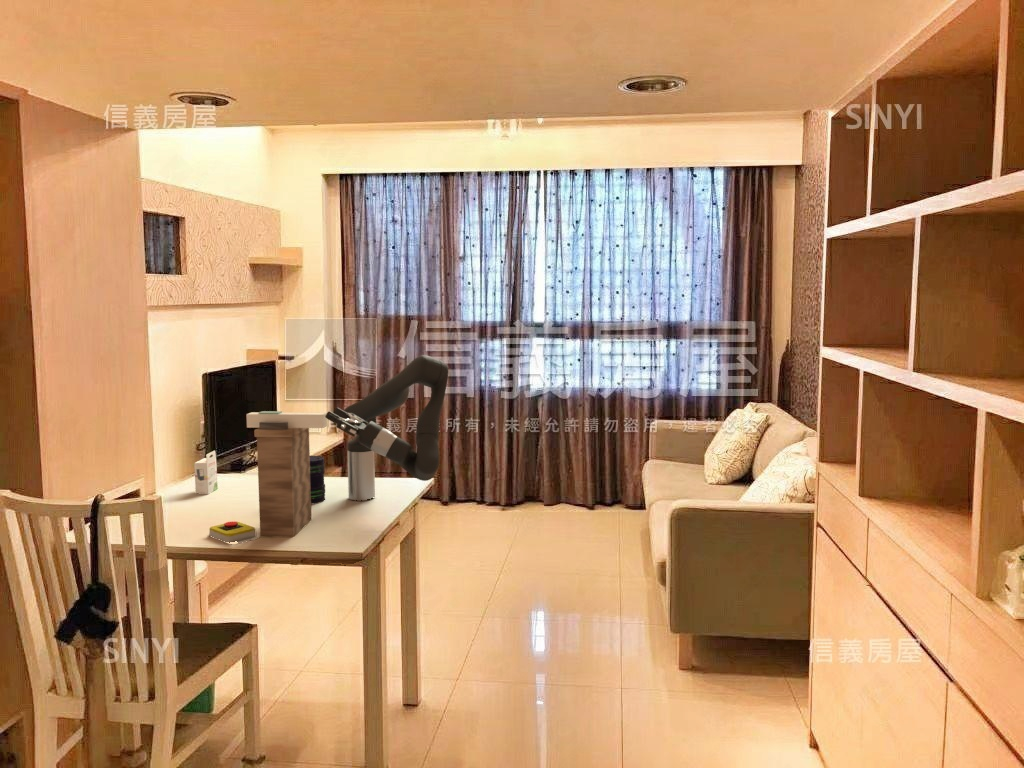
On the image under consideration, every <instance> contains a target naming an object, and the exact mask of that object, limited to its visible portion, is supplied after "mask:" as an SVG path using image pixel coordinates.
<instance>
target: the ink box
mask: <svg viewBox="0 0 1024 768" xmlns="http://www.w3.org/2000/svg"><path fill="white" fill-rule="evenodd" d="M205 456H206V457H205V458H204V457H203V458H201V459H200V460H198V461H195V462H194V463H193V467H194V468H193V469H194V486H195V488H194V489H195V494H196V493H199V494H198V495H210V494H211V493H213V492H215V491H216V489H217V490H218V489H219V488H218V470H217V468H218V467H217V466H218V465H217V455H216V450H213V451H211V452H209V453H207V454H206V455H205ZM214 490H215V491H214ZM209 493H210V494H209Z"/></svg>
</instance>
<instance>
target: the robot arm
mask: <svg viewBox="0 0 1024 768" xmlns="http://www.w3.org/2000/svg"><path fill="white" fill-rule="evenodd" d="M448 379H449V366H448V364H447V363H446V362H444V361H443V360H441V359H438V358H435V357H432V356H430V355H426V354H421V355H418V356H416V357H415V358H414V359H413V360H412V361H411V362H409V363H408V364H407V365H406V366H405V367H404V368H403V369H402V370H401V371H400V372H398V373H397V374H396V375H395V376H393V377H392V378H390V379H389V380H387V381H386V382H384V383H383V384H381V385H380V386H379V387H377V388H376V389H374V390H373V391H371V392H370V393H369V394H368V395H366V396H365V397H364V398H362V399H360V400H359V401H357V402H355V403H352V404H349V405H348V406H347V407H345V408H344V410H343V409H341V408H339V407H335V409H334V410H333V412H332V411H331V410H330V411H327V412H326V413H327V414H326V416H325V417H326V418H327V421H330V422H332V423H334V424H335V426H336V427H335V428H337V429H338V430H340V431H343V432H345V433H346V434H348V435H350V436H351V437H354V438H353V439H351V440H350V441H348V443H347V445H346V447H347V481H348V482H347V483H348V484H347V486H348V487H347V488H348V492H347V493H348V500H351V501H356V500H357V502H358V501H361V500H362V501H368V500H367V499H370V500H372V499H371V498H373V497H375V498H376V489H375V488H376V481H375V480H376V477H375V471H376V470H375V453H376V454H378V455H380V456H383V457H385V458H387V459H388V460H390V461H392V462H393V463H396V464H397V465H398V466H400V467H401V469H403V470H405V471H406V472H407V474H409V475H411V477H413V478H415V479H417V480H419V481H422V482H426V481H431V480H432V479H433V478H434V477H435V475H436V473H437V472H438V469H439V466H440V449H439V448H440V447H439V442H440V441H439V440H440V422H441V415H442V409H443V404H444V399H445V394H446V392H447V391H446V390H447V384H448ZM415 384H416V385H417V384H419V385H422V386H425V387H427V388H430V391H431V392H430V398H429V401H428V402H427V404H426V405H425V407H424V408H423V409H422V410H421V412H420V413H419V416H418V418H417V421H416V426H415V427H416V428H415V445H416V451H415V450H414V449H413V446H412V445H411V444H410V443H409V442H408V441H406V440H404V439H402V438H401V437H399V436H397V435H396V434H394V433H393V432H392V431H390V430H388V429H386V428H385V427H383V426H381V425H379V424H378V423H377V417H380V416H383V415H386V414H388V413H391V412H393V411H395V410H397V409H398V408H399V407H401V406H402V405H404V404H405V403H406V402H407V400H408V398H409V394H410V393H409V392H410V388H411V386H413V385H415ZM373 499H374V498H373Z"/></svg>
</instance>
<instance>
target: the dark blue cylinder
mask: <svg viewBox="0 0 1024 768" xmlns="http://www.w3.org/2000/svg"><path fill="white" fill-rule="evenodd" d="M325 467H326V466H325V457H324V456H321V455H310V486H311V505H313V504H312V503H314V504H319V503H318V502H320V503H323V502H325V501H326V497H325V496H326V484H325V472H326V469H325ZM324 500H325V501H324Z"/></svg>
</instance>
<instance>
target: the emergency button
mask: <svg viewBox="0 0 1024 768" xmlns="http://www.w3.org/2000/svg"><path fill="white" fill-rule="evenodd" d="M208 534H209V535H210V536H212V537H214V538H217V539H220V540H222V541H225V542H229V543H230V542H235V541H237V542H238V543H239V544H243V543H247V542H250V541H249V540H251V541H254V539H255V540H258V539H257V538H259V539H260V537H261V536H258V535H257V533H256V527H254V526H252V525H249V524H246V523H242V522H240V521H235V520H234V521H226V522H224V523H221V524H218V525H214V526H210V527H209V533H208ZM212 537H211V538H212ZM214 538H213V539H214ZM217 539H216V540H217ZM222 541H221V542H222ZM246 541H247V542H246ZM225 542H224V543H225ZM242 542H243V543H242Z"/></svg>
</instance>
